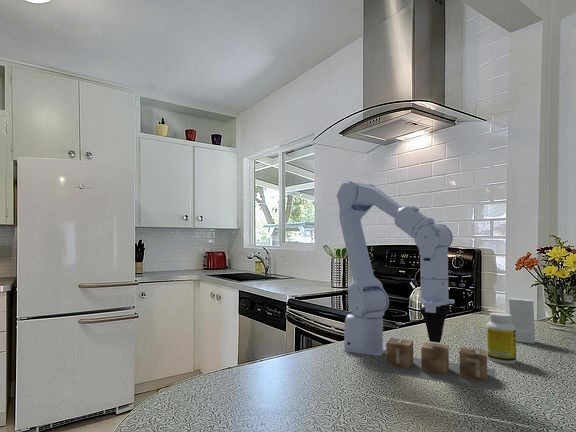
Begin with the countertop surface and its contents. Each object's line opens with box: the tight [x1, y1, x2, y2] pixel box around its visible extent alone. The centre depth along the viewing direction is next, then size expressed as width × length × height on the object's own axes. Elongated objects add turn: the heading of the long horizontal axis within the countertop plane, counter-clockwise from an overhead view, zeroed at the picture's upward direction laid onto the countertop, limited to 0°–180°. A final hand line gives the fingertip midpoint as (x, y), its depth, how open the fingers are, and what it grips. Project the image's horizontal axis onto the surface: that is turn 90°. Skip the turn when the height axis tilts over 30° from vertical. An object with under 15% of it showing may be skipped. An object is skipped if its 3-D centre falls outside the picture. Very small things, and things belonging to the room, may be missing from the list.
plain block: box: [420, 341, 450, 375], centre depth 83 cm, size 5×5×5 cm
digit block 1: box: [385, 337, 414, 369], centre depth 86 cm, size 5×5×5 cm
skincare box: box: [508, 297, 536, 345], centre depth 111 cm, size 6×4×12 cm
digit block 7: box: [458, 346, 488, 382], centre depth 80 cm, size 5×5×5 cm
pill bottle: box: [485, 312, 517, 365], centre depth 91 cm, size 6×6×11 cm
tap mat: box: [373, 356, 497, 392], centre depth 83 cm, size 23×14×1 cm, turn 62°
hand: (435, 341), depth 83 cm, fingers closed
